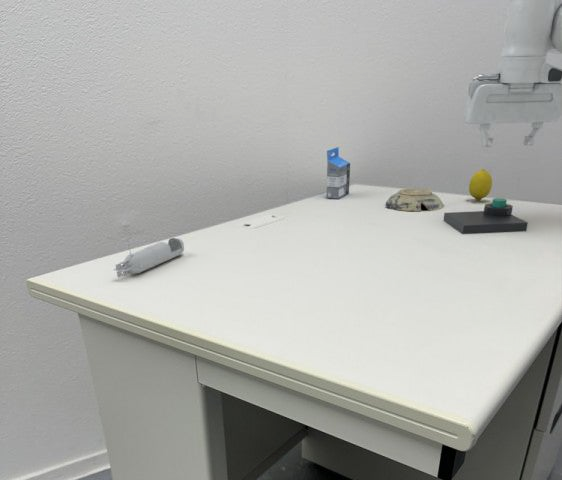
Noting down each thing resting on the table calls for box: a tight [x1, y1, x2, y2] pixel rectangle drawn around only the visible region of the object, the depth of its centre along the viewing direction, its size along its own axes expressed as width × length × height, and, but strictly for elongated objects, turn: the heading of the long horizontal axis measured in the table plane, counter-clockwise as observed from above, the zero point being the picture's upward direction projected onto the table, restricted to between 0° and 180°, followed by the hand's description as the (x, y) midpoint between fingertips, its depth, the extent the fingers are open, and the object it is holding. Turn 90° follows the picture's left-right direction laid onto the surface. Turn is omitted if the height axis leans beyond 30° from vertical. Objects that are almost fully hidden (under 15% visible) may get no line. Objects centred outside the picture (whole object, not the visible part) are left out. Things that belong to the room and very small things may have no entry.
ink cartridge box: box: [325, 146, 351, 200], centre depth 151 cm, size 9×4×12 cm, turn 155°
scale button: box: [491, 197, 508, 208], centre depth 123 cm, size 3×3×2 cm
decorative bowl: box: [385, 187, 444, 213], centre depth 140 cm, size 15×4×15 cm
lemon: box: [468, 168, 493, 202], centre depth 142 cm, size 6×6×8 cm
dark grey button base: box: [443, 202, 529, 235], centre depth 121 cm, size 14×12×4 cm
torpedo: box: [113, 237, 185, 278], centre depth 100 cm, size 18×5×7 cm, turn 152°
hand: (507, 145), depth 119 cm, fingers open, 8 cm apart
